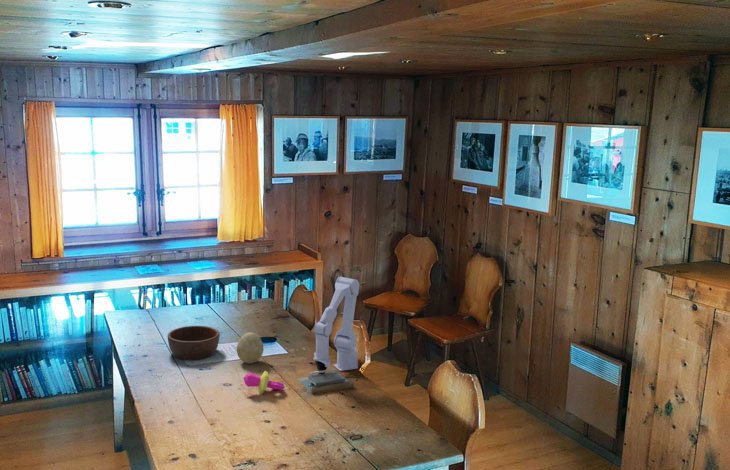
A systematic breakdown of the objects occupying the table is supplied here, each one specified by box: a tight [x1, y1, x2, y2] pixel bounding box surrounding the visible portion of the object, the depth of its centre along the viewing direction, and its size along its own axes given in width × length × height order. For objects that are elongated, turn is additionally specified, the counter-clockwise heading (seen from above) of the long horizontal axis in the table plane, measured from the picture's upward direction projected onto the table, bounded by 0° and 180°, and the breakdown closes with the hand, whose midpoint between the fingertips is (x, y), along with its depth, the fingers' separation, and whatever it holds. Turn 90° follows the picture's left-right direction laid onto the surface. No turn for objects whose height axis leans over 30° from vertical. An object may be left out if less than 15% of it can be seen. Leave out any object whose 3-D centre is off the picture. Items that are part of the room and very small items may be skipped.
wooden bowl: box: [166, 325, 221, 361], centre depth 336 cm, size 25×25×10 cm
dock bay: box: [296, 373, 355, 395], centre depth 306 cm, size 20×18×3 cm
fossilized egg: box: [236, 331, 264, 364], centre depth 326 cm, size 13×13×15 cm
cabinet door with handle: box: [307, 368, 346, 387], centre depth 304 cm, size 14×9×4 cm, turn 116°
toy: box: [243, 370, 285, 395], centre depth 293 cm, size 10×18×10 cm, turn 103°
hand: (321, 376), depth 309 cm, fingers closed
